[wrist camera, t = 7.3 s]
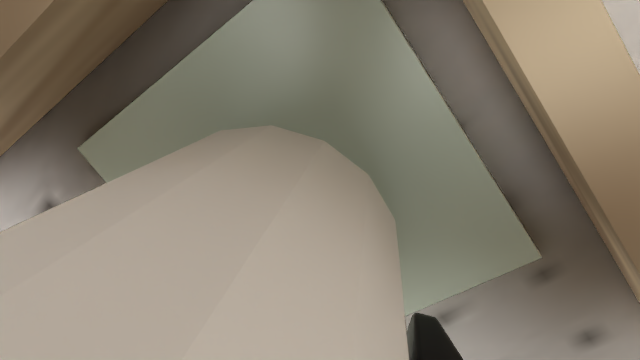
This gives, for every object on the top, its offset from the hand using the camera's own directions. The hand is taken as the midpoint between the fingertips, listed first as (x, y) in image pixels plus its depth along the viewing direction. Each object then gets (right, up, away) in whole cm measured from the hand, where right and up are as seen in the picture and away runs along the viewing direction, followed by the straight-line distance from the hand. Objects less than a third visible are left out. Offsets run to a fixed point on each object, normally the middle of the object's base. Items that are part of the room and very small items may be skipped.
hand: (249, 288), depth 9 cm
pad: (+1, +2, +4) cm, 4 cm away
